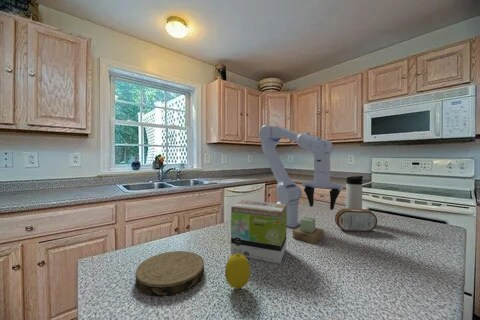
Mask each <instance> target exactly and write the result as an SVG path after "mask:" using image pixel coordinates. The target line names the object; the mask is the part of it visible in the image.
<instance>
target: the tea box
mask: <svg viewBox="0 0 480 320" xmlns="http://www.w3.org/2000/svg"><path fill="white" fill-rule="evenodd" d="M230 212H231V213H230V215H231V216H230V255H231V256H232V255H234V254H236V253H239V254H241V255H243V256H244V257H246V258H248V259H255V260H258V261H265V262H269V263H274V264H278V265H280V264H282V260H283V257H284V256H285V252H286V248H287V227H288V226H287V204H278V203H277V202H267V201H255V200H244V199H243V200H240V201H239V202H237V203H236V204H234V205H232V206H231V209H230Z"/></svg>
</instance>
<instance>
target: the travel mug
mask: <svg viewBox="0 0 480 320" xmlns="http://www.w3.org/2000/svg"><path fill="white" fill-rule="evenodd" d="M363 178H364V176H363V175H358V176H356V175H355V176H348V177H346V180H345V181H346V183H345V184H346V187H345V209H363Z"/></svg>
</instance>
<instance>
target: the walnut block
mask: <svg viewBox="0 0 480 320" xmlns="http://www.w3.org/2000/svg"><path fill="white" fill-rule="evenodd" d="M323 237H324V228H317V227H315V230H314V231H313V232H312V233H309V232H304V231H300V226H298V227H296V228H295V229H294V230H292V239H294V240H298V241H302V242H306V243H310V244H314V245H316V244H317V243H318V242H319V241H320V240H321V239H322V238H323Z"/></svg>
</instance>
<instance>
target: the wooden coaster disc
mask: <svg viewBox="0 0 480 320" xmlns="http://www.w3.org/2000/svg"><path fill="white" fill-rule="evenodd" d="M204 276H205V260H204V259H203V258H202V256H201V255H200V254H197V253H195V252H190V251H185V250H183V251H182V250H176V251H174V250H173V251H169V252H162V253H159V254H156V255H153V256H150V257H149V258H147V259H145V260H143V261H142V262H141V263H140V264H139V265H138V266H137V267H136V270H135V287H136V290H138V291H139V292H140V293H141V294H143V295H145V296H148V297H152V296H153V297H155V298H166V297H165V296H167V297H174V296H177V295H176V294H178V295H180V293H181V294H183V293H182V292H184V293H186V292H188V291H190V290H192V289H194V288H196V287H197V286H198V285H199V284H200V283H201V282H202V280H203V279H204ZM193 287H194V288H193ZM173 295H174V296H173Z"/></svg>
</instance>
